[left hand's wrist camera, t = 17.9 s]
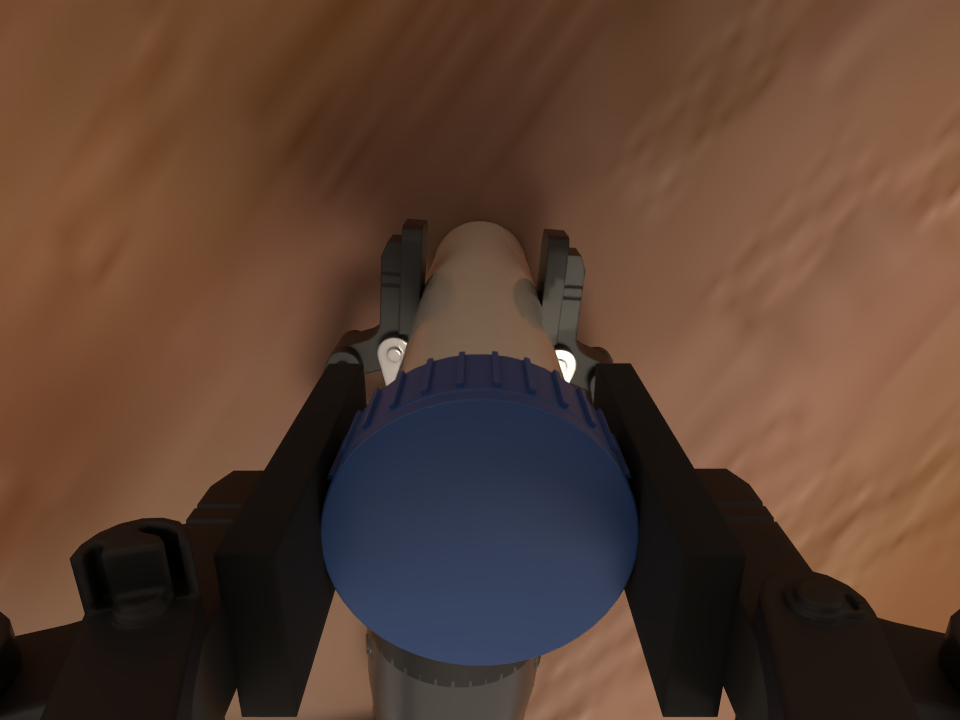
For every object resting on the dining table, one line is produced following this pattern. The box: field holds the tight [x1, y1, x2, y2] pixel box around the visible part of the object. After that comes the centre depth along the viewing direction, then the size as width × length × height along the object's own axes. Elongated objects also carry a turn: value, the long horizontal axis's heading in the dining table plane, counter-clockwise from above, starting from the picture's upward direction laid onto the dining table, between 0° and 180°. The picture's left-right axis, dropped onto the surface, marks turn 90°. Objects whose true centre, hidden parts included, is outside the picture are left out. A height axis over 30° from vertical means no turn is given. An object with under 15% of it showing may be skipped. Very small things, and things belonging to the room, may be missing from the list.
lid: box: [320, 351, 639, 666], centre depth 11 cm, size 5×5×2 cm
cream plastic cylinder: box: [395, 221, 565, 380], centre depth 20 cm, size 4×4×19 cm
